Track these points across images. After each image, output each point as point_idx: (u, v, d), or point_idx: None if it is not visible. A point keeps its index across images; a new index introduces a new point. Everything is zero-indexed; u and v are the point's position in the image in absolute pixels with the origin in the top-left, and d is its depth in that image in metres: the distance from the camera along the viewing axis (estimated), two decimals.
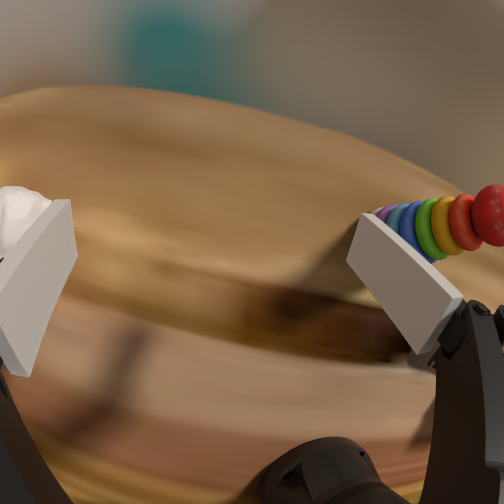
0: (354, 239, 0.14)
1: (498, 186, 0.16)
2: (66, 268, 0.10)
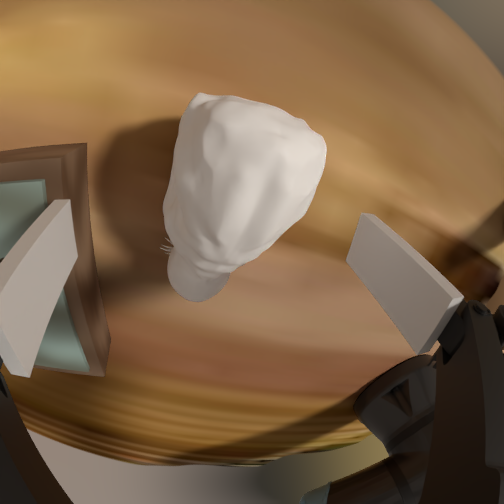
0: (354, 239, 0.14)
1: None
2: (66, 268, 0.10)
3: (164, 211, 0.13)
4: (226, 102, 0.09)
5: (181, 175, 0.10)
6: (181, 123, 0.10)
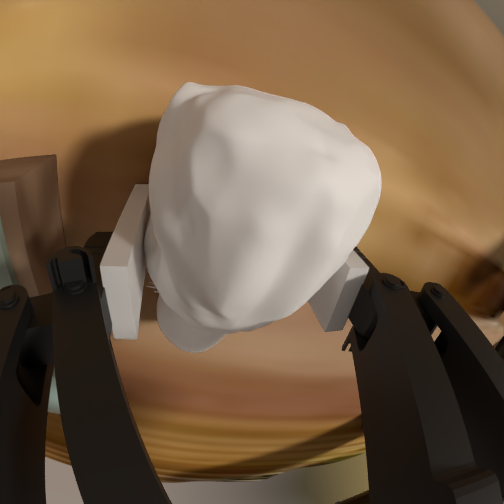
0: None
1: None
2: None
3: (146, 251, 0.10)
4: (230, 95, 0.05)
5: (160, 216, 0.06)
6: (160, 130, 0.06)
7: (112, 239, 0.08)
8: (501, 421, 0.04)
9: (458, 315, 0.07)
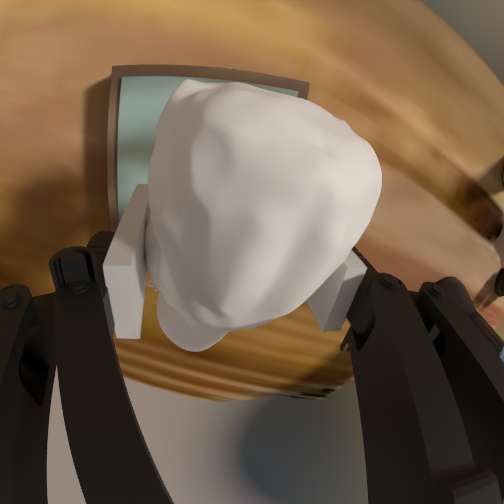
0: None
1: None
2: None
3: (145, 249, 0.10)
4: (230, 91, 0.05)
5: (159, 214, 0.06)
6: (159, 127, 0.06)
7: (114, 239, 0.08)
8: (500, 421, 0.04)
9: (456, 315, 0.07)
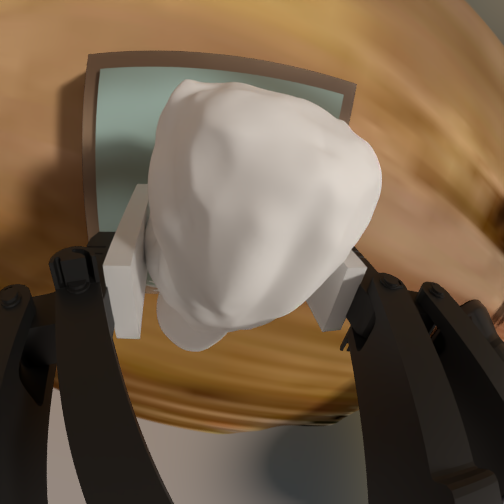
0: None
1: None
2: None
3: (145, 249, 0.10)
4: (230, 91, 0.05)
5: (159, 214, 0.06)
6: (159, 127, 0.06)
7: (114, 239, 0.08)
8: (500, 421, 0.04)
9: (456, 315, 0.07)
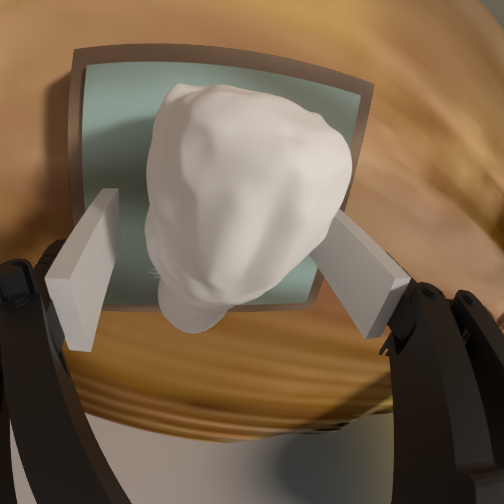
0: None
1: None
2: (114, 252, 0.11)
3: (146, 235, 0.11)
4: (212, 93, 0.06)
5: (156, 199, 0.07)
6: (155, 126, 0.07)
7: (62, 249, 0.07)
8: None
9: (485, 321, 0.07)
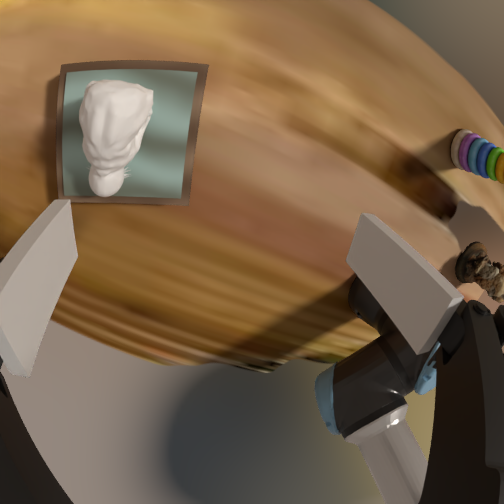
0: (354, 239, 0.14)
1: None
2: (66, 268, 0.10)
3: (83, 141, 0.22)
4: (95, 83, 0.17)
5: (80, 117, 0.18)
6: (84, 95, 0.18)
7: None
8: None
9: None
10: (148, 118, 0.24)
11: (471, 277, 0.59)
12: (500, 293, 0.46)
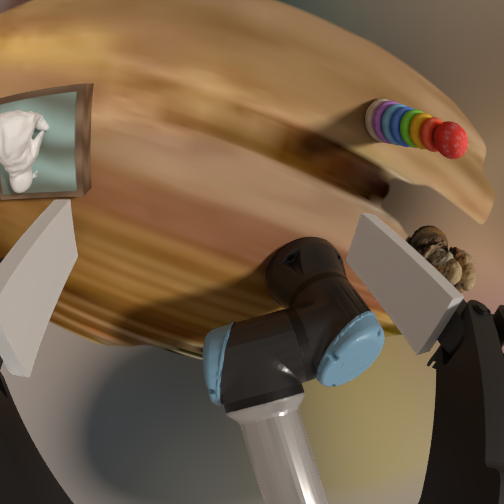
0: (354, 239, 0.14)
1: (455, 125, 0.27)
2: (66, 268, 0.10)
3: None
4: None
5: None
6: None
7: None
8: None
9: None
10: (41, 133, 0.27)
11: None
12: (454, 280, 0.47)
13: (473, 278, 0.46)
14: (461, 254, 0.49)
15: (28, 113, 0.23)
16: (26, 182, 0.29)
